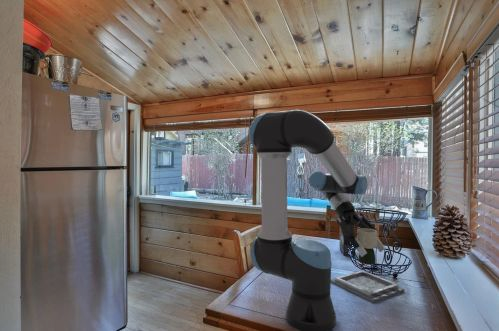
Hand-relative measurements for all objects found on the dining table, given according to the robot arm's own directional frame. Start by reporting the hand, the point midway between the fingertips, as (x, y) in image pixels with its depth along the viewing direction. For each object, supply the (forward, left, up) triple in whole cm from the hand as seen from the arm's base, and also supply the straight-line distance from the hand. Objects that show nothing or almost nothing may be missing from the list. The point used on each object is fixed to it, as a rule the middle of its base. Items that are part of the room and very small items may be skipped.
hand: (373, 252), depth 113 cm
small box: (+26, +36, -14) cm, 47 cm away
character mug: (0, +3, -5) cm, 6 cm away
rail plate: (-1, +3, -14) cm, 14 cm away
